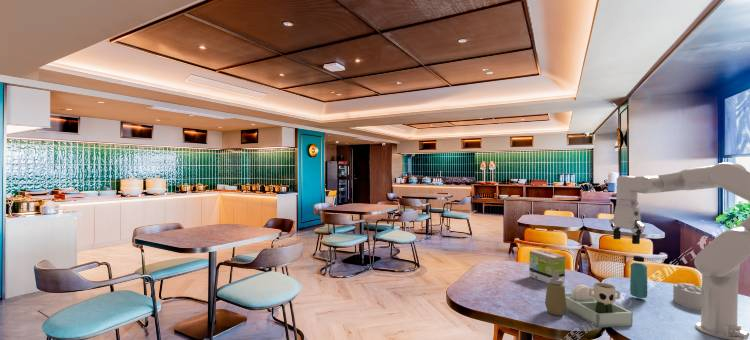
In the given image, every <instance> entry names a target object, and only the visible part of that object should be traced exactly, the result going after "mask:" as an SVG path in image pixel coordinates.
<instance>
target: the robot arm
mask: <svg viewBox="0 0 750 340" xmlns="http://www.w3.org/2000/svg"><path fill="white" fill-rule="evenodd" d="M714 188H715V189H716V188H721V189H723V190H725V191H727V192H729V193H731V194H733V195H735V196H737V197H740V198H742V199H743V200H746V201H747V202H750V171H747V169H746V168H745V166H743V165H742V164H740V163H736V162H720V163H717V164H713V165H712V164H711V165H707V166H701V167H699V166H698V167H691V168H686V169H682V170H681V171H679V172H678V171H677V172H673V173H667V174H659V175H640V176H633V175H619V176H618V177H617V178H616V202H615V204H616V205H615V207H614V213H613V218H611V219H609V220H608V221H609V224H610V227H611V228H612V231H613V237H612V239H613V240H621V235H622V234H621V229H623V230H624V229H625V230H630V231H631V232H632V235H631V243H632V244H633V245H640V243H641V241H640V239H641V238H640V237H641V235H642V233H644V231H645V229H646V225H644V224H643V223H642V219H641V218H642V216H641V211H640V210H641V209H640V207H638V206H639V202H638V194H659V193H669V192H676V191H677V192H678V191H696V190H705V189H714ZM749 258H750V215H749V216H748V217H747V218H746V219H745V220H743V221H742V222H741V223H739V224H738V225H736V226H735V227H733V228H729V229H727V230H725V231H723V232H721V233H720V234H719V235H717V236H716V237H715V238H714V239H713V240H712V241H710V242H709V243H708V244H707V245H706V246H705V247H704V248H702V249H701V250H700V251H699V252H698V253H697V254H696V255H695V257H694V259H693V260H694V266H695V269H696V270H697V271H698V272H699V273H701V274H702V277H701V286H702V297H701V310H700V321H697V322H696V323H695V328H696V330H698V331H701V332H702V333H704V334H705V335H709V336H712V337H716V338H720V339H724V340H748V339H749V337H750V333H749V332H747V331H744V330H742V326H741V325H740V324H738V307H739V306H738V302H739V300H738V299H739V298H738V297H739V296H738V295H739V278H740V271H741V264H742V263H743V262H744V261H746V260H747V259H749Z"/></svg>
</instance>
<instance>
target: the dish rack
mask: <svg viewBox="0 0 750 340" xmlns="http://www.w3.org/2000/svg"><path fill="white" fill-rule="evenodd" d="M565 296H566V309H565V310H567V311H568V312H571V314H572V313H573V315H575V316H578V317H579V318H581V317H582V318H584V319H585V320H584V319H583V320H584V321H586V320H588V321H589V322H591V323H593V324H594V325H596V326H595V327H596V328H599V329H600V328H612V327H614V328H615V327H627V326H628V327H630V326H633V321H634V320H633V318H634V317H633V316H634V315H633V311H631V310H629V309H626V308H624V307H621V306H620V305H617V304H615V303H612V304H611V305H612V309H613V313H599V314H598V313H596V312H595V308H596V303H597V300H588V301H576V299H572V292H565ZM582 318H581V319H582ZM588 321H587V322H588ZM589 322H588V323H589ZM591 323H590V324H591ZM593 324H592V325H593ZM594 325H593V326H594Z"/></svg>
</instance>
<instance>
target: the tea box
mask: <svg viewBox="0 0 750 340" xmlns="http://www.w3.org/2000/svg"><path fill="white" fill-rule="evenodd" d="M554 270H558V274H559V278H560V279H562V284H565V282H566V281H565V280H566V279H565V278H566V256H565V255H562V254H559V253H555V252H551V251H547V250H545V249H537V250H531V251H529V269H528V271H529V273H528V274H529V278H533V279H535V280H538V281H541V282H543V283H546V284H548V283H549V282H550V278H551V277H553V274H554Z"/></svg>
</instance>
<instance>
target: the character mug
mask: <svg viewBox="0 0 750 340" xmlns="http://www.w3.org/2000/svg"><path fill="white" fill-rule="evenodd" d="M589 288H590V289H589V296H591V297H594V298H595V300H597V303H596V308H595V312H596V313H598V314H599V313H613V309H612V305H611V304H612V303H613V304H615V302H616V300H620V299H621V291H619V290H616V287H615V285H613V284H610V283H607V282H595V283H594V284H593V288H591V287H589ZM592 291H594V294H592ZM616 295H617V296H616Z"/></svg>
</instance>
